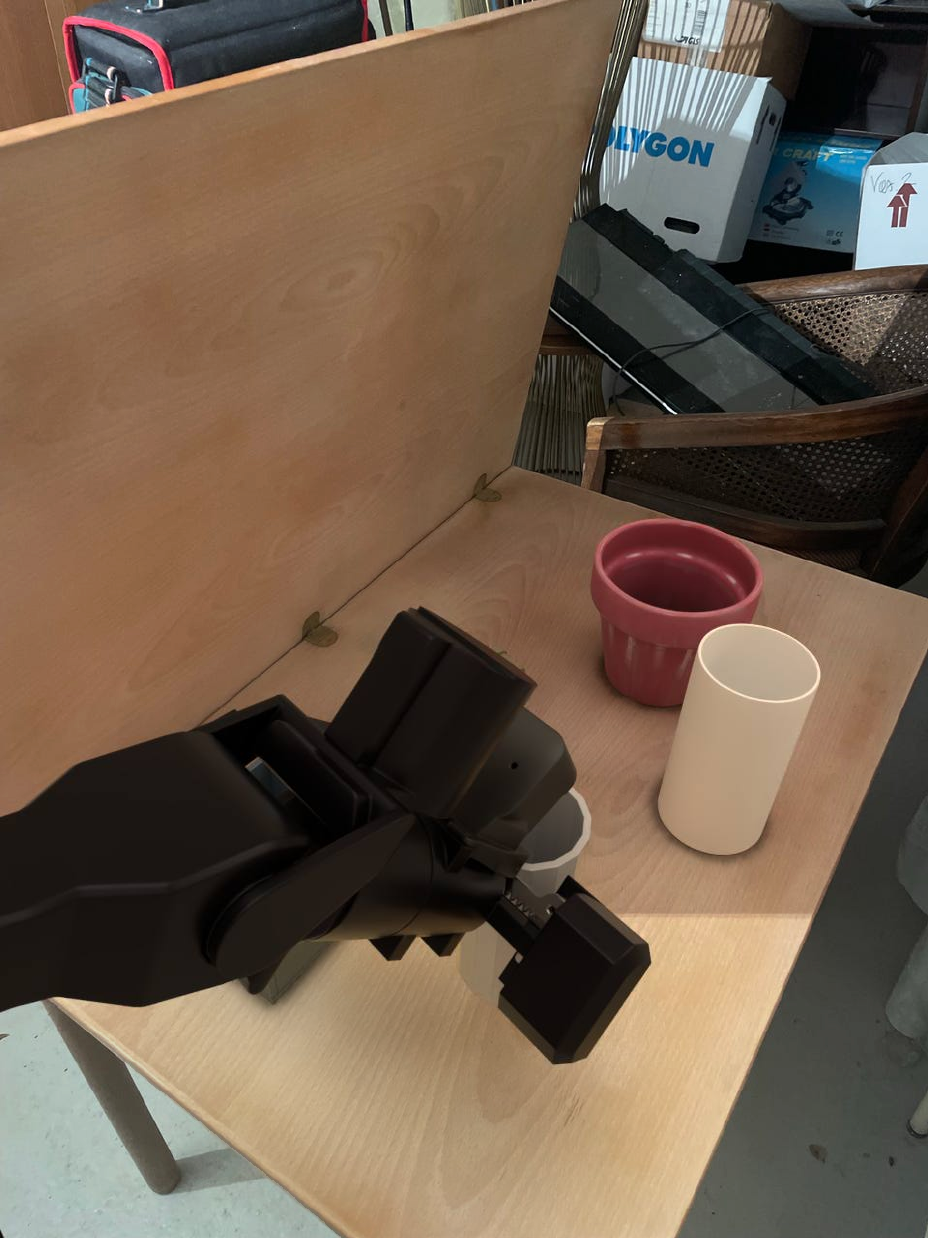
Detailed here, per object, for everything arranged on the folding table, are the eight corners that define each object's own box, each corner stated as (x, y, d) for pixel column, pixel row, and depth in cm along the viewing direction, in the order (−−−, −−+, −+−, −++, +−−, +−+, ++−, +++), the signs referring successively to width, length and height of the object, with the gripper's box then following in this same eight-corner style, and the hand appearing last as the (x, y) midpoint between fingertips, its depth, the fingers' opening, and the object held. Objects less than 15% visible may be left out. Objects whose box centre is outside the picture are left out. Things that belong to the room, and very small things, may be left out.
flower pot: (663, 753, 76) (693, 637, 68) (546, 667, 84) (560, 554, 76) (761, 681, 84) (798, 569, 76) (644, 608, 92) (667, 500, 84)
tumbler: (529, 1030, 50) (553, 892, 42) (434, 970, 53) (439, 829, 45) (581, 944, 54) (612, 803, 46) (491, 892, 57) (505, 751, 49)
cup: (723, 874, 67) (778, 721, 57) (636, 808, 71) (673, 655, 61) (783, 816, 71) (844, 665, 61) (698, 757, 76) (741, 608, 66)
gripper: (664, 846, 32) (761, 865, 44) (343, 597, 42) (498, 671, 55) (490, 1102, 32) (636, 1047, 45) (216, 794, 43) (399, 821, 55)
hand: (535, 877), depth 50 cm, fingers closed on tumbler, 6 cm apart
